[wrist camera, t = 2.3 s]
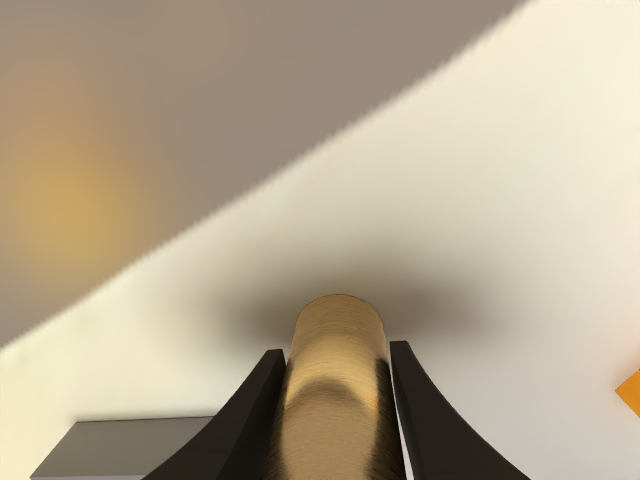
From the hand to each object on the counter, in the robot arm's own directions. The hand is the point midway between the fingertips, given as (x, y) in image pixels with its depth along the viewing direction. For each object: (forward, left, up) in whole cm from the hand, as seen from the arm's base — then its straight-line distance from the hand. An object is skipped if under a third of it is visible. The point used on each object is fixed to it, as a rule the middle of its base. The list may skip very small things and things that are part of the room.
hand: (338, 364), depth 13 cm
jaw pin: (0, 0, -2) cm, 2 cm away
